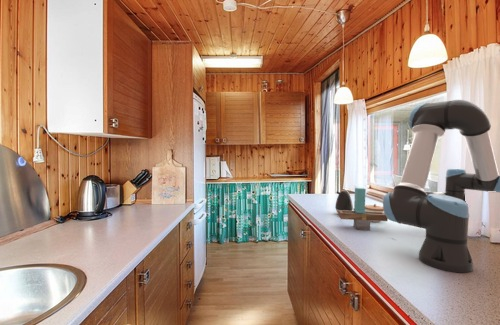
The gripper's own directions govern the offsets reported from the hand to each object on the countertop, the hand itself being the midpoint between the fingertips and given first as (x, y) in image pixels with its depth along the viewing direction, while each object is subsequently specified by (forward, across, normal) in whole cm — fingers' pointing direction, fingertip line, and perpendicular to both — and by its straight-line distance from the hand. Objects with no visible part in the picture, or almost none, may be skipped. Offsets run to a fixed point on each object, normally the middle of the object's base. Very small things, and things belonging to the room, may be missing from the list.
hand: (382, 197), depth 132 cm
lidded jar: (-2, +17, -16) cm, 24 cm away
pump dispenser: (+12, +29, -16) cm, 35 cm away
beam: (+10, 0, -16) cm, 19 cm away
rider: (+11, 0, -11) cm, 15 cm away
